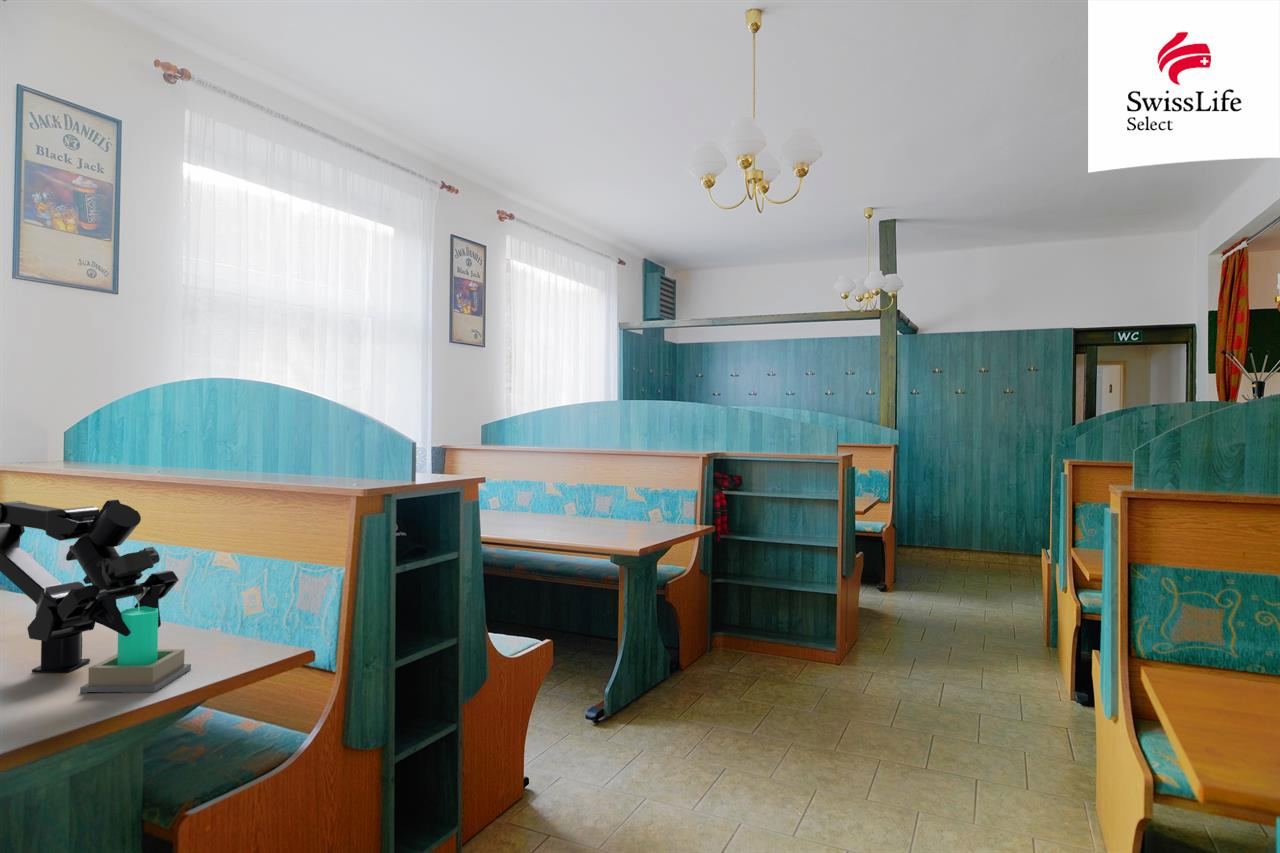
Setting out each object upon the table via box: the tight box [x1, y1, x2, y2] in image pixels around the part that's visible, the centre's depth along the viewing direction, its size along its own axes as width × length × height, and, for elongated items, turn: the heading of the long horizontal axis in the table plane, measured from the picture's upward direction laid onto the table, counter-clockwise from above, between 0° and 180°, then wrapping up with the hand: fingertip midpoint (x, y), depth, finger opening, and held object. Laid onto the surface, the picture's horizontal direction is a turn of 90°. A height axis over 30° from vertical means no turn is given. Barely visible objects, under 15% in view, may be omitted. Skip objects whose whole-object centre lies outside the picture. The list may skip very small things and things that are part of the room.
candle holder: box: [79, 648, 192, 694], centre depth 132 cm, size 12×12×4 cm
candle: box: [117, 601, 159, 666], centre depth 132 cm, size 6×6×12 cm
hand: (144, 630), depth 132 cm, fingers closed on candle, 5 cm apart
